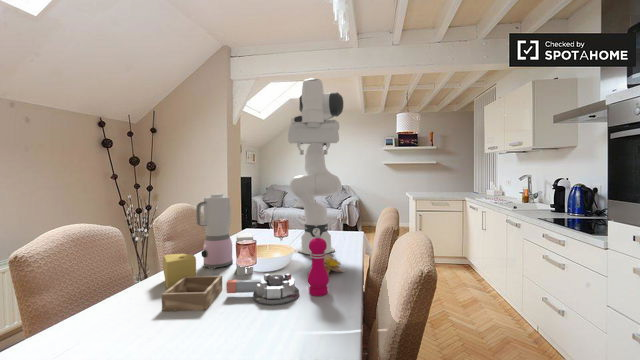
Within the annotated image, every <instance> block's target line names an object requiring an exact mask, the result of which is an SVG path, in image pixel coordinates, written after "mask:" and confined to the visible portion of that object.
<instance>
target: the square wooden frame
mask: <svg viewBox="0 0 640 360" xmlns="http://www.w3.org/2000/svg"><path fill="white" fill-rule="evenodd" d="M222 291H223V275H200V276H198V275H196V276H193V277H183V278H182V279H181V280H180V281H178V282H177V283H176V284H174V285H173V286H172V287H171V288H169V289H167V290H165V291H164V292H162V293H161V311H162V312H179V311H180V312H185V311H207V310H208V309H209V308H210V307H211V305H212V304H213V303H214V302H215V300H216V299H217V297H218V296H219V295H220V294H221V293H222Z"/></svg>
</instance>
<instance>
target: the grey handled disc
mask: <svg viewBox="0 0 640 360" xmlns="http://www.w3.org/2000/svg"><path fill="white" fill-rule="evenodd" d="M282 275H283V274H282ZM269 276H271V274H269V273H264V274H263V278H260V279H228V280H227V281H226V294H238V293H239V294H241V293H242V294H243V293H254V292H257V295H259V296H261V297H263V298H267V299H271V298H281V297H282V298H284V297H286V296H289V295H291V294H293V293H294V290H295V287H296V281H295V277H292V274H291V273H284V275H283V276H284V281H283V282H282V286H269V279H268V278H269Z"/></svg>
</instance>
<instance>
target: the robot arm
mask: <svg viewBox="0 0 640 360" xmlns="http://www.w3.org/2000/svg"><path fill="white" fill-rule="evenodd" d="M323 85H324V84H323V81H322V80H321V79H319V78H307V79H304V80H303V82H302V88H301V95H300V96H299V97H298V98H299V108H298V109H299V111H300V112H301V114H298V115H295V116H293V117H291V118H290V125H289V127H288V132H287V142H288V143H289V144H296V147H297V148H298V151H299V155H300V156H303V155H304V171H305V173H306V174H301V175H296V176H293V177H292V179H291V180H290V183H289V188H290V192H291V193H292V195H293V196H295V197H297V199H298V200H299V201H300V202H301V204H302V206H303V209H304V219H305V220H304V226H303V228H304V230H303V231H304V232H303V234H302V235H301V246H300V247H299V248H298V249H297V252H298V253H301V254H306V255H310V256H311V250H310V249H309V243H310V241H311V240H312V239H314V238H315V235H316V234H317V233H318V234H320V238H322V239H324V240H325V241H326V244H327V248H326V250H325V251H324V252H325V255H327V254H330V253H334V252H335V251H336V248H335V247H333V246H332V235H331V233H330V232H329V231H328V230H329V224H328V211H327V210H328V209H327V208H326V206H325V205H324V204H323V203H320V202H317V201H316V200H315V197H332V196H336V195H338V194H339V192H340V191H341V189H342V182H341V179H340V178H339V176H337V175H335V174H333V173H332V172H330V171H329V170H328V168H327V165H326V160H325V159H326V158H325V157H326V155H328V150H329V148H330V146H331V144H337V143H338V142H339V141H340V135H339V130H340V122H339V121H337V120H336V119H333V118H334V117H336V118H337V117H339V116H340V115H341V114H342V113H343V109H344V104H345V103H344V102H345V101H344V97H343V95H341V93H339V92H337V91H335V92H324V86H323ZM301 145H308V146H307V148H306V150H305V154H304V149H302V148H301ZM324 147H325V149H324Z"/></svg>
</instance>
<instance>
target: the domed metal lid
mask: <svg viewBox="0 0 640 360" xmlns="http://www.w3.org/2000/svg"><path fill="white" fill-rule="evenodd" d="M268 279H269V286H282V282H283V281H284V276H283V274H272V275H270V276H269V278H268ZM252 293H253V294H252V298H253V301H254V302H255V303H257V304H259V305H262V306H283V305H286V304H290V303H292V302H294V301H296V300H297V299H298V298H299V296H300V289H299V288H298V287H296V286H295V290H294V293H293V294H291V295H289V296H286V297H284V298H282V297H281V298H271V299H267V298H263V297H261V296H259V295H257V292H252Z"/></svg>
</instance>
